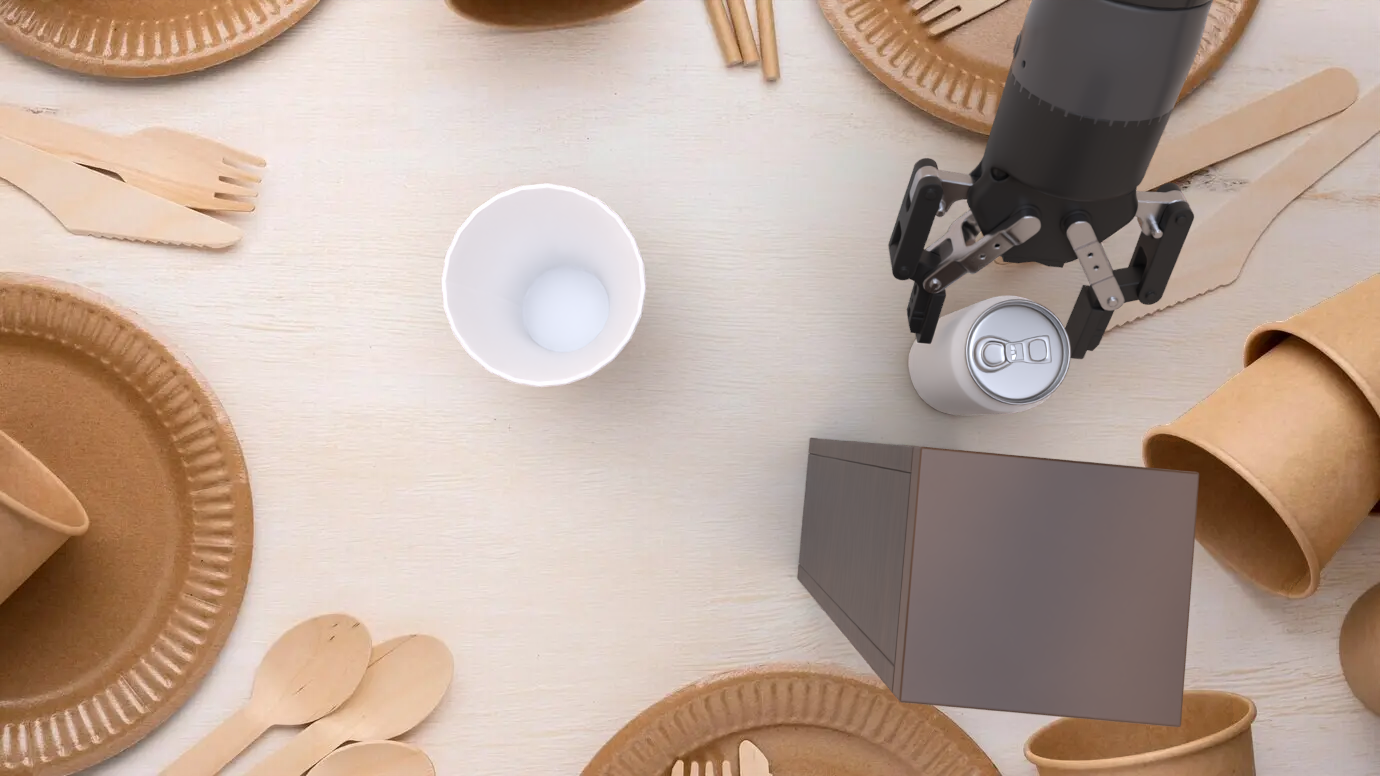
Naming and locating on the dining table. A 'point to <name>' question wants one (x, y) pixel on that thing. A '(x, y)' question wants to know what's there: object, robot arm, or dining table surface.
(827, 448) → the shelf frame
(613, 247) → the cup
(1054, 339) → the can
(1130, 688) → the shelf
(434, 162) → the dining table surface
